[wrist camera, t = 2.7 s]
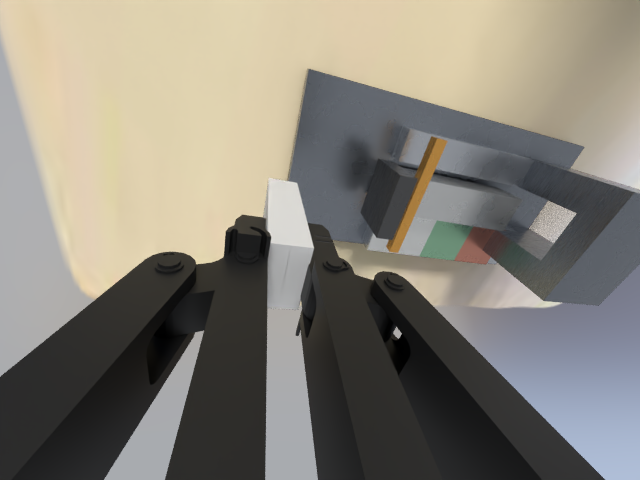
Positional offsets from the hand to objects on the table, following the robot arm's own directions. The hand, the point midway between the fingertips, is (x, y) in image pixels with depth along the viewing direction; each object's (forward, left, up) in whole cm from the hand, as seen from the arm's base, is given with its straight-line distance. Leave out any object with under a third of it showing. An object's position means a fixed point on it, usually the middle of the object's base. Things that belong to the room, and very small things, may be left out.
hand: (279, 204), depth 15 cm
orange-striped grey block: (0, +14, -7) cm, 15 cm away
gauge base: (0, +14, -9) cm, 17 cm away
